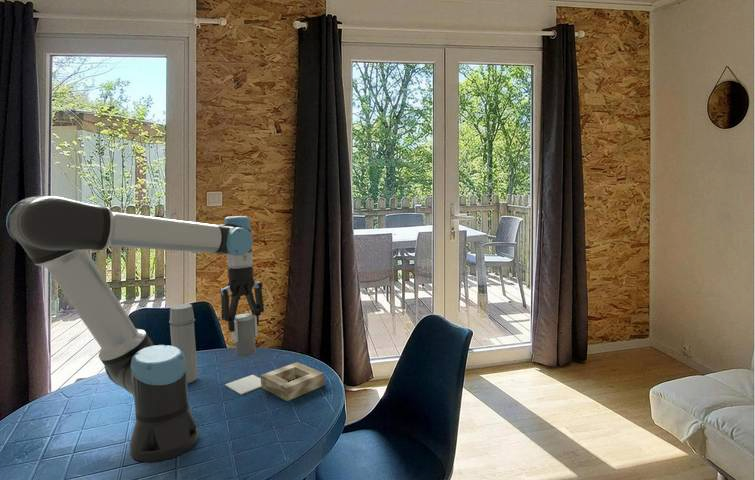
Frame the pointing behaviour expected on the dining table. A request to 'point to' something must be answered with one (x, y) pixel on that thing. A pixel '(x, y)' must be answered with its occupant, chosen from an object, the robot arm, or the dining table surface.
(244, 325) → the grey domed cylinder
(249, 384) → the pad
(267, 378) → the housing
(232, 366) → the dining table surface
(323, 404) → the dining table surface
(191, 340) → the water bottle
